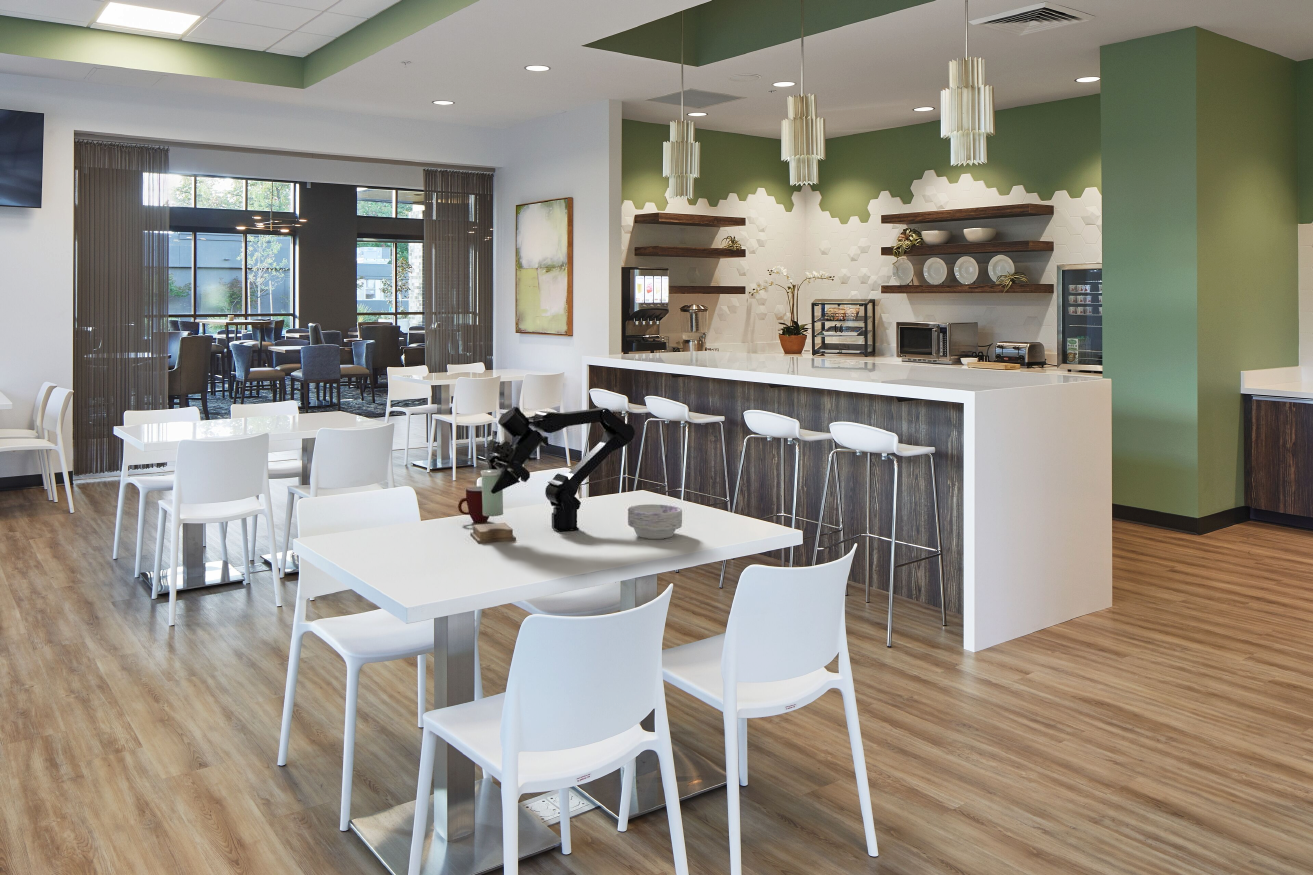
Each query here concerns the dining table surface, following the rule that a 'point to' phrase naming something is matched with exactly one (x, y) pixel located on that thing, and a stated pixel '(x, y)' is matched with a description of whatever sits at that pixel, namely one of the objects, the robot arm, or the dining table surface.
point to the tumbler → (490, 501)
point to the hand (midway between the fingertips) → (487, 491)
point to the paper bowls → (654, 520)
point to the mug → (474, 504)
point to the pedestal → (492, 533)
